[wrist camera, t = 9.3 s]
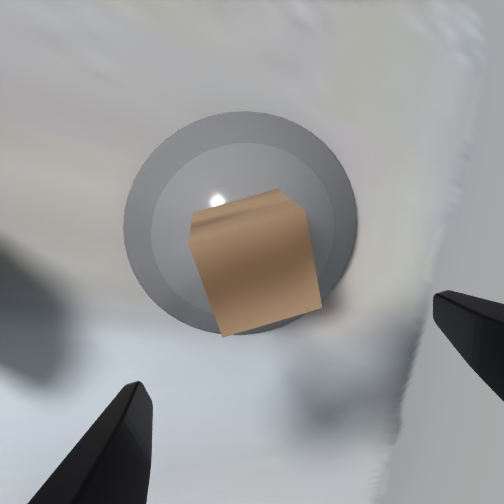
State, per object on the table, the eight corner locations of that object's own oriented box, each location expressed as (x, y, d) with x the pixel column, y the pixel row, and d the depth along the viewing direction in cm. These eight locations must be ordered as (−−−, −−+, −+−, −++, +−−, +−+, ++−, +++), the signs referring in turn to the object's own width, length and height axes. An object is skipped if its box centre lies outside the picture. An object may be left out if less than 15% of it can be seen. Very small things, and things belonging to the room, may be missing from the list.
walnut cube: (293, 264, 19) (322, 308, 14) (218, 286, 19) (222, 337, 14) (278, 188, 17) (305, 210, 12) (192, 212, 17) (188, 243, 12)
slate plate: (358, 294, 22) (366, 302, 21) (174, 348, 21) (173, 360, 20) (335, 83, 16) (344, 80, 15) (85, 150, 16) (76, 151, 15)
